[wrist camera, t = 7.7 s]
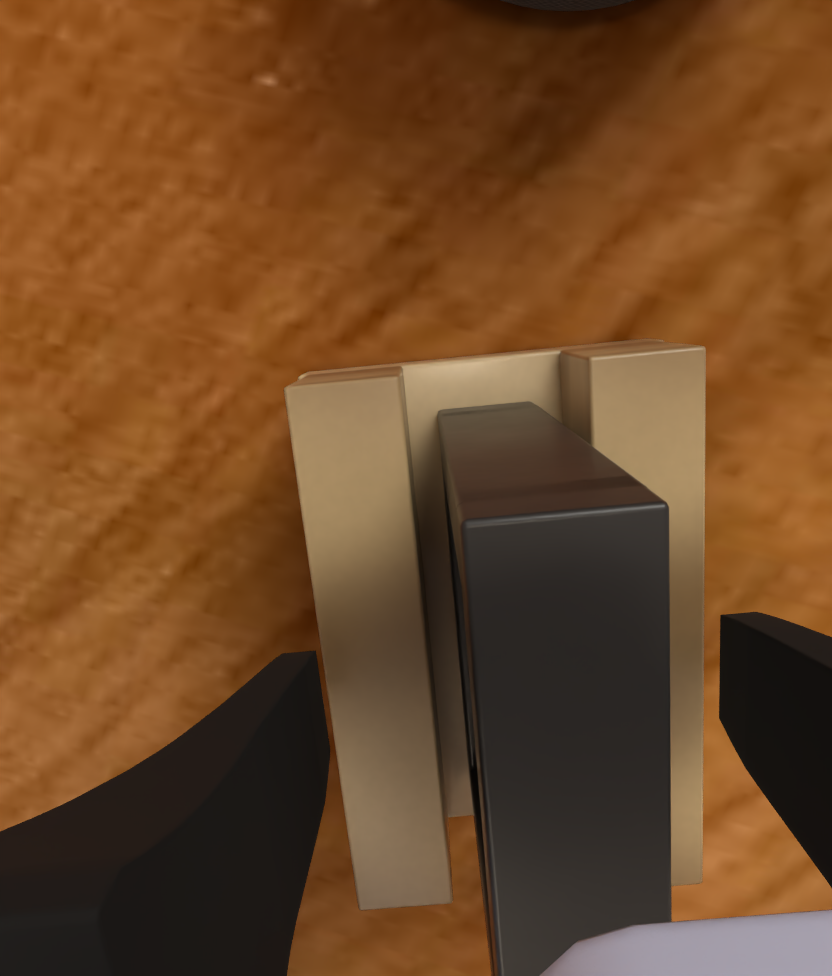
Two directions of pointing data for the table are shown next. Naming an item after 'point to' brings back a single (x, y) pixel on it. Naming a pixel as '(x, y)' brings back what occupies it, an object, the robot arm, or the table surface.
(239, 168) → the table surface
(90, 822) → the robot arm
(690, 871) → the holder
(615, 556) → the frame
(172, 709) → the table surface
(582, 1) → the smart speaker
